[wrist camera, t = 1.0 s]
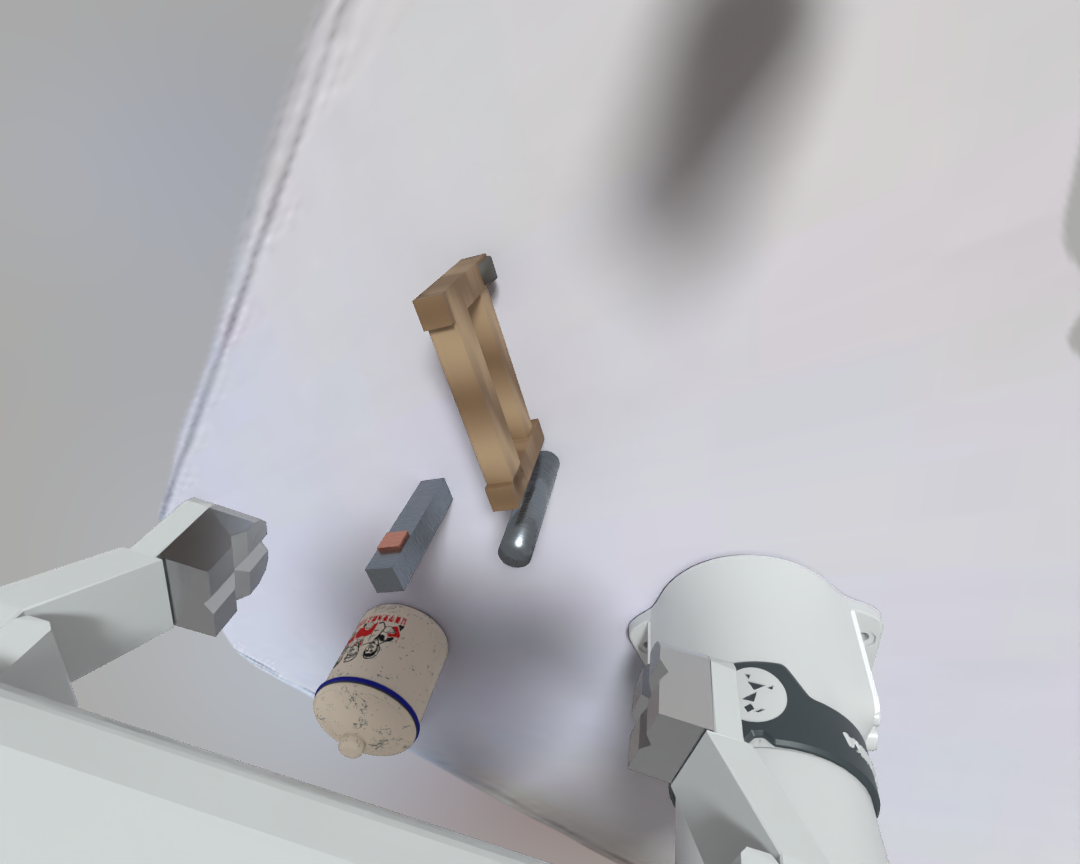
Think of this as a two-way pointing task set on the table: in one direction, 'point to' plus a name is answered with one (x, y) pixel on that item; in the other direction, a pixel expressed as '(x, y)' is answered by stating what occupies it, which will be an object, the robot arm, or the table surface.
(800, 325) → the table surface
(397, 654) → the teacup with lid
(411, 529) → the posts
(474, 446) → the gate
